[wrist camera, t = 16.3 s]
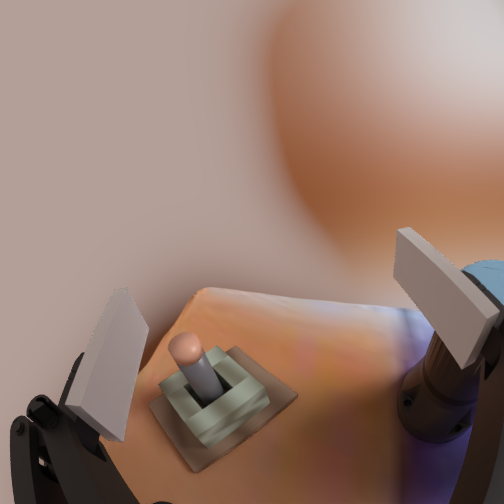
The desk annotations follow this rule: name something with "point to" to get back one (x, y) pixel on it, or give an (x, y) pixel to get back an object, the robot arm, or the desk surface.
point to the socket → (220, 407)
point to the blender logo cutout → (161, 503)
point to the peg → (196, 367)
